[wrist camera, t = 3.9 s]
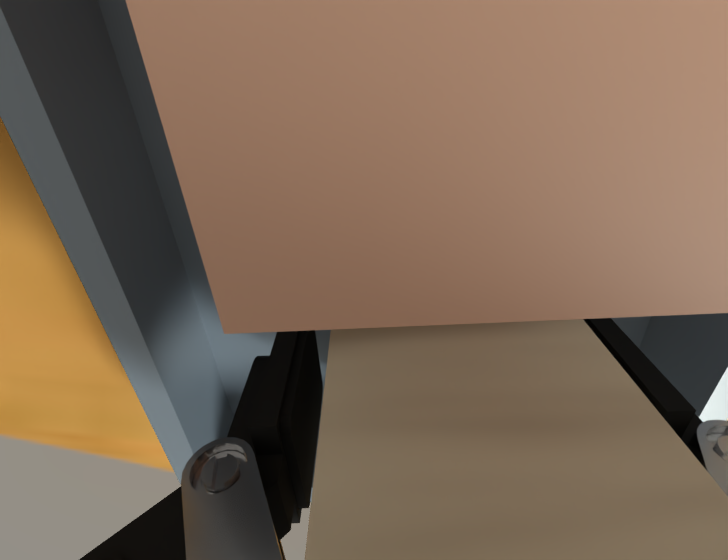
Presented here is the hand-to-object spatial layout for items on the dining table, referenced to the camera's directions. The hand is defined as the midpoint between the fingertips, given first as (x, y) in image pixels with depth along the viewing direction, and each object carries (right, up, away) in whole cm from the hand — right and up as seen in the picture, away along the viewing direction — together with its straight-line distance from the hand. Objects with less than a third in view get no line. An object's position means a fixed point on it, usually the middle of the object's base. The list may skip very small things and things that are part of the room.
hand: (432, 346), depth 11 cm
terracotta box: (0, +8, -3) cm, 8 cm away
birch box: (0, +1, +1) cm, 1 cm away
